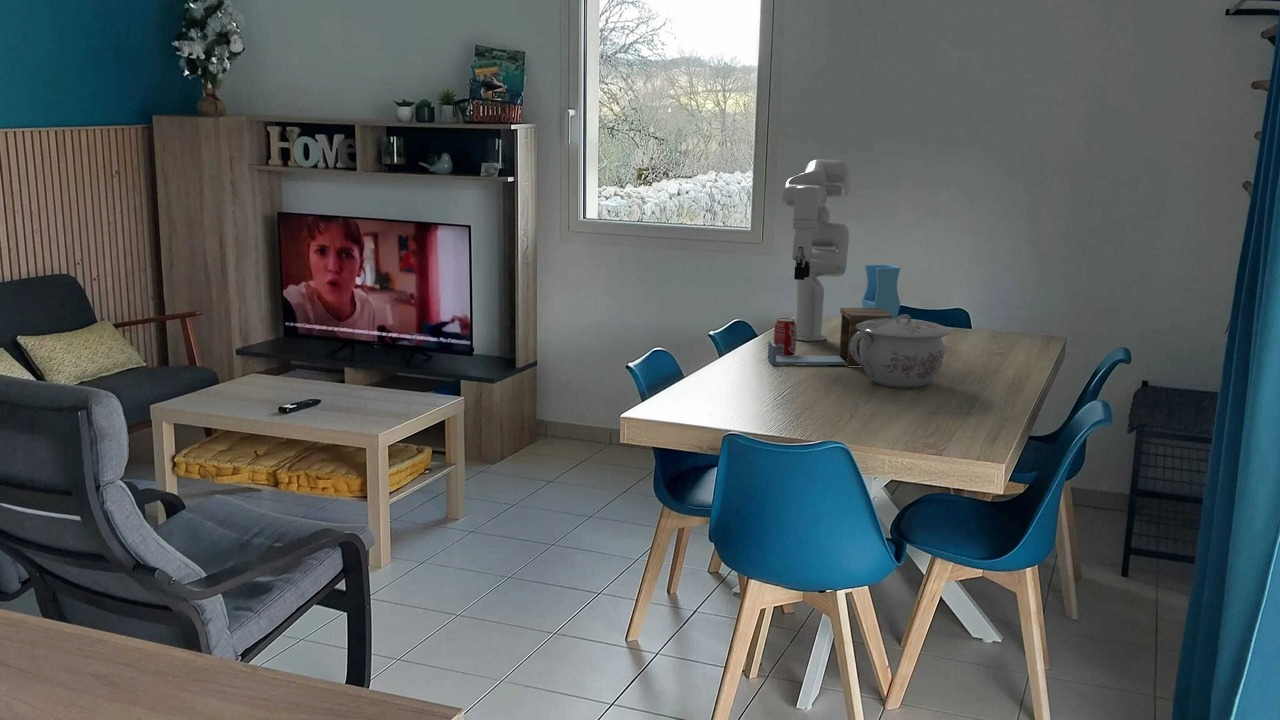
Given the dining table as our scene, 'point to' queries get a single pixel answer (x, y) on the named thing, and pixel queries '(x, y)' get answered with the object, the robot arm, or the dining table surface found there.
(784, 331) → the soda can
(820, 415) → the dining table surface
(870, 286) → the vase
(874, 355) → the chamber pot
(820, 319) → the robot arm
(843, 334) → the open wooden box
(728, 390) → the dining table surface
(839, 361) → the blue-grey l-shaped bracket
